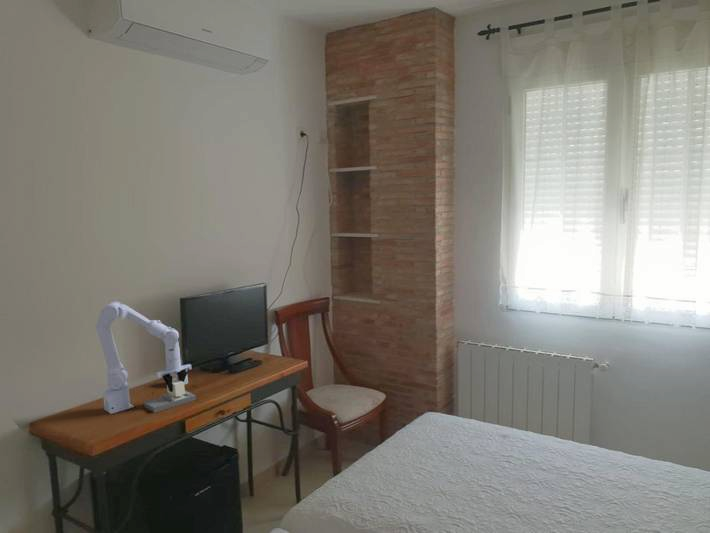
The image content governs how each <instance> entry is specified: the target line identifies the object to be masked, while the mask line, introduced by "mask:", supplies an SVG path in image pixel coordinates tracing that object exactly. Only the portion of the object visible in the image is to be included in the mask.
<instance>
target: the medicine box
mask: <svg viewBox="0 0 710 533" xmlns="http://www.w3.org/2000/svg"><path fill="white" fill-rule="evenodd" d="M186 371H187V372H188V370H186ZM170 375H171V376H172V377H173V378H172V379H178V375H177V373H173V374H170ZM187 384H189V378H188V374H187V375H186V378H185V380H184V386H185V385H187Z"/></svg>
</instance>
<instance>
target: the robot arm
mask: <svg viewBox="0 0 710 533" xmlns="http://www.w3.org/2000/svg"><path fill="white" fill-rule="evenodd" d="M118 317H119V318H118ZM117 318H118V319H119V320H123V319H128V320H130V321H132V322H134V323H137V324H138V325H141V326H143V327H144V328H145V330H146V332H147V333H148V334H151V335H153V336H154V337H156V338H158V339H159V340H162V341H163V343H164V352H165V363H166V364H165V365H166V368H165V369H162V370H160V371H157V372H156V378H162V379H163V380H164V382H165V383H166V387H167V386H168V389H169V391H170V392H173V387H172V378H173V377H172V376H171V375H170V374H173V373H177V375H178V380H180V381H182V382H184V380H185V378H186V375H187V376H188V371H189V370H192V364H190V363H187V364H183V365H182V360H181V350H180V344H179V338H180V334H179V333H180V332H179V331H178V330H176V328H172V327H171V326H167V325H165V324H163V323H162V321H161V320H159V319H158V320H156V319H152V320H150V319H148V318H147V317H146V316H144V315H143V314H141V313H139V312H138V311H136V310H134V309H133V308H132V307H130V306H128V305H126V304H124V303H121V302H120V301H118V300H113V301H110V302H109V303H108V304H106V305H104V307H103V308H102V309H101V310H100V311H99V315H98V319H97V321H96V324H95V328H96V332H97V335H98V338H99V341H100V345H101V349H102V353H103V356H104V359H105V362H106V366H107V370H106V371H107V374H106V375H107V381H106V382H107V385H108V389H107V390H104V391H103V393H102V397H103V410H104V411H106V412H107V413H109V414H110V415H111V414H115V413H118V412H123V411H126V410H128V409H132V408H135V406H134V405H133V404H131V398H130V390H129V383H128V382H127V381H128V379H129V373H128V371H127V370H126V369H125V368H124V365H123V363H122V362H121V360H120V355H119V352H118V348H117V344H116V342H115V339H114V334H113V331H112V328H111V325H112V324H113V323H114V321H115V320H116V319H117ZM186 370H187V371H186Z"/></svg>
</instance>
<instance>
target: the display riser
mask: <svg viewBox="0 0 710 533" xmlns="http://www.w3.org/2000/svg"><path fill="white" fill-rule="evenodd" d="M196 397H197V396H196V394H194V393H192V392H190V391H187V390H185V394H183V395H180V396H174V395H172V394H170V393H169V394H168V393H162V396H160V397H157V398H153V399H150V400H146V401H143V407H144V408H145V409H147V410H149V411H151V412H153V413H157V412H162V411H164V410H168V409H171V408H174V407H177V406H180V405H184V404H188V403H190V402H194V401H196V400H197V398H196Z"/></svg>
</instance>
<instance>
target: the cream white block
mask: <svg viewBox="0 0 710 533" xmlns="http://www.w3.org/2000/svg"><path fill="white" fill-rule="evenodd" d="M172 387H173V392H170V391H169V389H168V386H167V385H166V390H167V391H166V392H167V394H169V395H170V394H172V395H174V396H180V395H183V394H185V391H186V389H185V385H184V382H182V381H180V380H178V379H172Z"/></svg>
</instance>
